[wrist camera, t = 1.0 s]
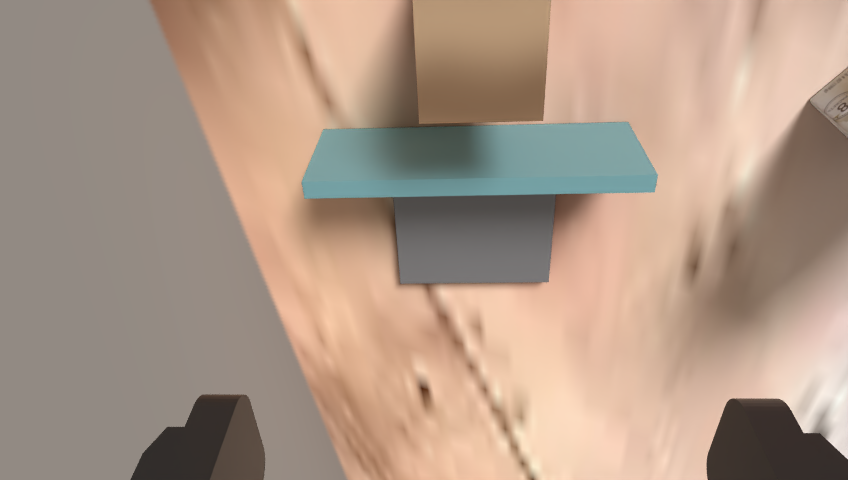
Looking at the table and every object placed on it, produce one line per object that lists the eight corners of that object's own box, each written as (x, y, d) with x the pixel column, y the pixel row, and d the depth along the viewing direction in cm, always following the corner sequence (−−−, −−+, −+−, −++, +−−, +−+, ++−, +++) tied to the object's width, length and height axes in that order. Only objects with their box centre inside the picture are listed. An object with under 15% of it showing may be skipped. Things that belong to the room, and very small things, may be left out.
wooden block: (424, -57, 32) (412, -5, 23) (523, -62, 32) (551, -10, 22) (428, 48, 35) (419, 131, 26) (519, 45, 35) (542, 128, 25)
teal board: (323, 129, 38) (301, 181, 32) (628, 121, 37) (657, 174, 31) (325, 144, 38) (304, 198, 33) (625, 137, 37) (654, 192, 32)
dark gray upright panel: (394, 186, 40) (393, 194, 39) (554, 183, 39) (556, 191, 38) (401, 274, 44) (400, 283, 43) (546, 273, 43) (548, 282, 42)
